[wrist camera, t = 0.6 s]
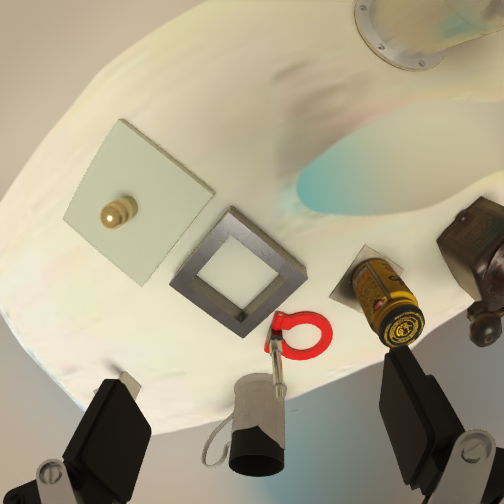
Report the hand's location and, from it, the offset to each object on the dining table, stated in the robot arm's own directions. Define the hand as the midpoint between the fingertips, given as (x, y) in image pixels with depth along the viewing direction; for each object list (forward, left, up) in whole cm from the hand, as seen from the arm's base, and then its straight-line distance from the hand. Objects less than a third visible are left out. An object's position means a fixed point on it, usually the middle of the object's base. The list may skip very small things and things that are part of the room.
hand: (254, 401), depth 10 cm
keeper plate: (+11, -13, -28) cm, 33 cm away
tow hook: (+11, +16, -29) cm, 34 cm away
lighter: (+39, +1, -28) cm, 48 cm away
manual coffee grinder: (-14, +25, -29) cm, 40 cm away
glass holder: (+26, +19, -28) cm, 43 cm away
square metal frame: (+9, +3, -28) cm, 30 cm away
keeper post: (+11, -13, -27) cm, 32 cm away
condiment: (-1, +17, -29) cm, 33 cm away
